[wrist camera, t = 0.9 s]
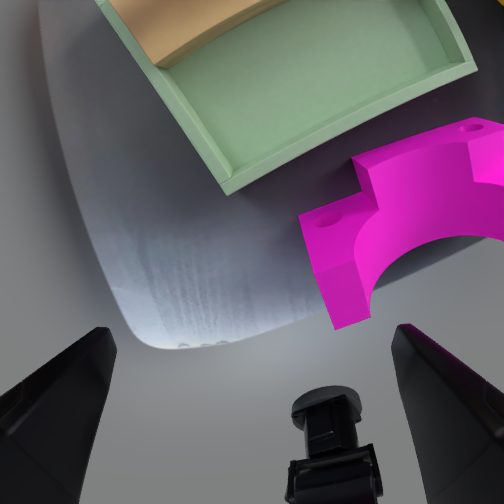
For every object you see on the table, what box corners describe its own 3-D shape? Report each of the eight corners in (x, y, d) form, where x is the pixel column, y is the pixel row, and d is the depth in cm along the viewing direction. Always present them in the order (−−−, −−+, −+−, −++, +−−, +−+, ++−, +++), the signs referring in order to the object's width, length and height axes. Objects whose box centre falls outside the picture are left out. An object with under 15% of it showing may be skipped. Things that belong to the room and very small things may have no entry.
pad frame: (459, 70, 16) (478, 70, 14) (230, 185, 21) (226, 196, 19) (345, -102, 10) (353, -118, 8) (109, 7, 15) (93, 0, 13)
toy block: (473, 116, 17) (544, 137, 11) (486, 194, 20) (546, 235, 13) (283, 182, 20) (295, 229, 14) (315, 260, 23) (335, 330, 16)
